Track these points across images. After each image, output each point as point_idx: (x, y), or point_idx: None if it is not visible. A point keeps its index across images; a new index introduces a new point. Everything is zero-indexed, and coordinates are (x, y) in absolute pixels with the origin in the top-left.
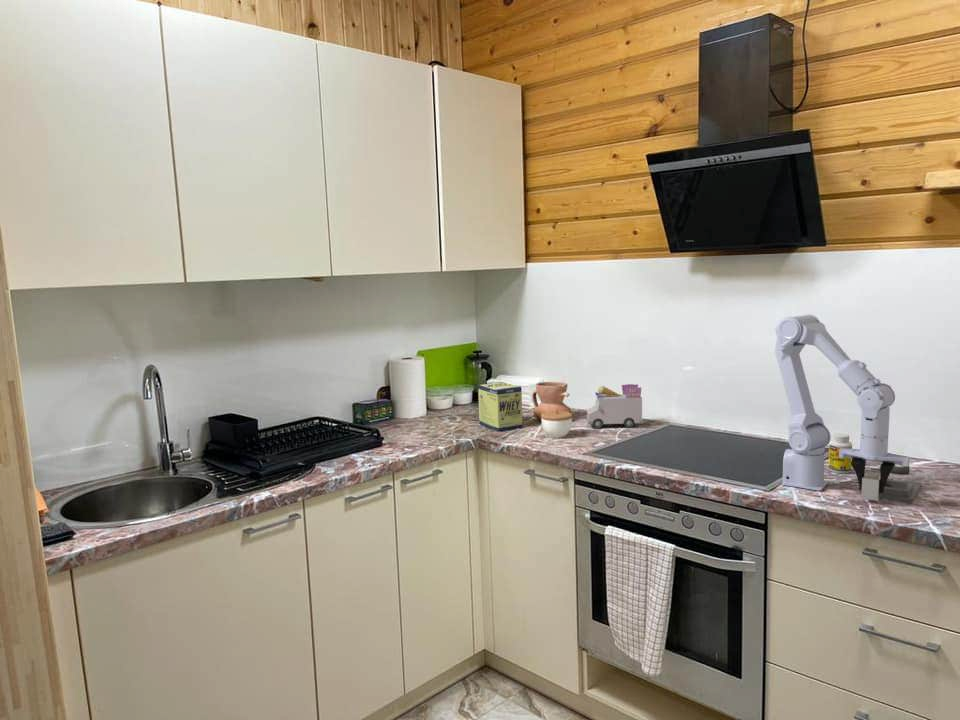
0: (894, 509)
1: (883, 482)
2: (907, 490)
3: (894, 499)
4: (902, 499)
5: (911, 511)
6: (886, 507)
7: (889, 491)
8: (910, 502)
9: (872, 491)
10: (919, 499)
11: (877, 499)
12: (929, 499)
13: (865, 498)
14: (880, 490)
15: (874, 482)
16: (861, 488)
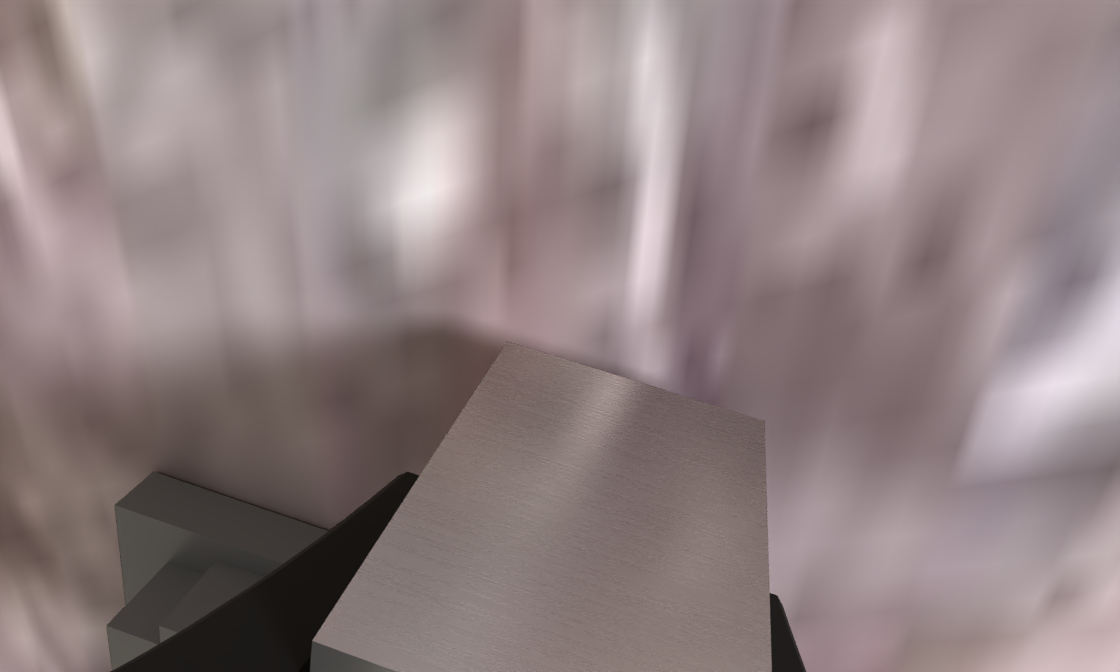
0: (304, 173)
1: (249, 609)
2: (127, 649)
3: None
4: (237, 523)
5: (102, 151)
6: (411, 238)
7: None
8: (172, 483)
9: (558, 460)
10: None
11: (507, 351)
12: (57, 604)
13: (697, 400)
14: None
15: (457, 613)
16: None
